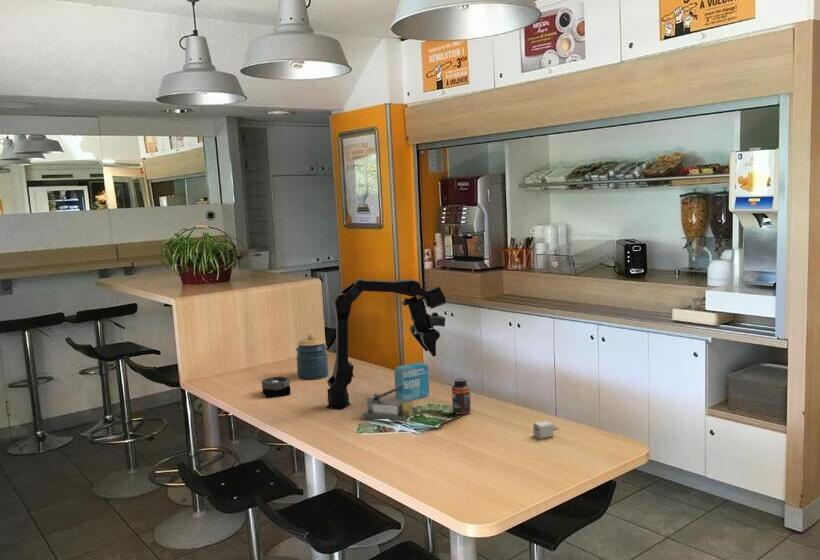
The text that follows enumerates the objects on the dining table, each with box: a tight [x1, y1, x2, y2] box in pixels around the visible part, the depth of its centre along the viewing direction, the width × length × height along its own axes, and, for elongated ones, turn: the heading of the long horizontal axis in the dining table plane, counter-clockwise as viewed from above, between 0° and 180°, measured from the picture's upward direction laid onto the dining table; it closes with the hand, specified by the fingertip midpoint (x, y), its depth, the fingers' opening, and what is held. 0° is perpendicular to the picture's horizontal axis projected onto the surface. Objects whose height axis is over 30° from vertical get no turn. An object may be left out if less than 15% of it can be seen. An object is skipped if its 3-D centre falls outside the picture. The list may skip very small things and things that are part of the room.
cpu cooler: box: [261, 376, 292, 399], centre depth 268 cm, size 10×6×10 cm
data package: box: [394, 362, 430, 402], centre depth 255 cm, size 12×4×12 cm, turn 125°
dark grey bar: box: [371, 385, 403, 401], centre depth 235 cm, size 13×3×2 cm, turn 65°
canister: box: [295, 333, 330, 380], centre depth 292 cm, size 13×13×18 cm
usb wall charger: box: [532, 420, 560, 440], centre depth 211 cm, size 4×7×4 cm, turn 111°
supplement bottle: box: [451, 377, 472, 416], centre depth 236 cm, size 6×6×11 cm
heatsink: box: [362, 393, 418, 421], centre depth 235 cm, size 15×10×6 cm, turn 65°
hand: (430, 353), depth 256 cm, fingers open, 9 cm apart
